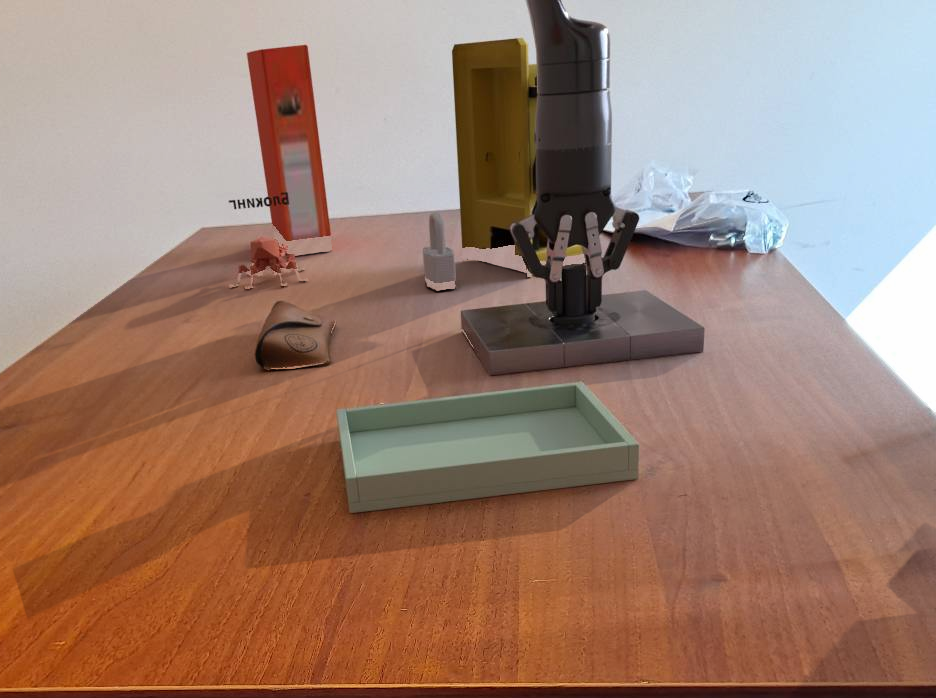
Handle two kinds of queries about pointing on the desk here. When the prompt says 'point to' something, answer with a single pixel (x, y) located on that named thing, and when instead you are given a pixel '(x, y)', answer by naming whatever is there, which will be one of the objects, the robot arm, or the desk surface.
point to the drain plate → (579, 334)
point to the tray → (481, 446)
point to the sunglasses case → (293, 338)
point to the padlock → (438, 253)
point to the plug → (574, 296)
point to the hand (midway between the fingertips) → (573, 312)
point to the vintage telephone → (496, 142)
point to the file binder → (289, 140)
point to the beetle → (267, 244)
